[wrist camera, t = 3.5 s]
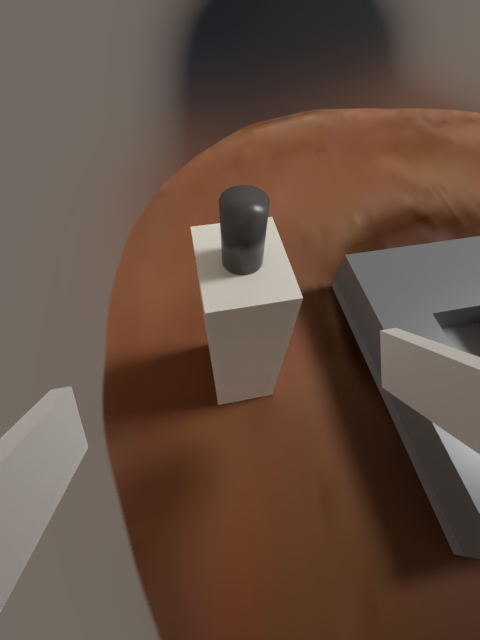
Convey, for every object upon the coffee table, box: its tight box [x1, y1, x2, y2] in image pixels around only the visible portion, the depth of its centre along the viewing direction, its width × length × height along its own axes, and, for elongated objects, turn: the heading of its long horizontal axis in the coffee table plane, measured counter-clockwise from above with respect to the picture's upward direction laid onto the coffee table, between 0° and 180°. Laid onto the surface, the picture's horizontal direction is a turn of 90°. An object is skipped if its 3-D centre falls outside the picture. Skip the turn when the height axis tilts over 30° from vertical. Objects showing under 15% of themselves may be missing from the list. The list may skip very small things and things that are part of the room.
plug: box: [191, 185, 303, 405], centre depth 17 cm, size 4×5×15 cm
